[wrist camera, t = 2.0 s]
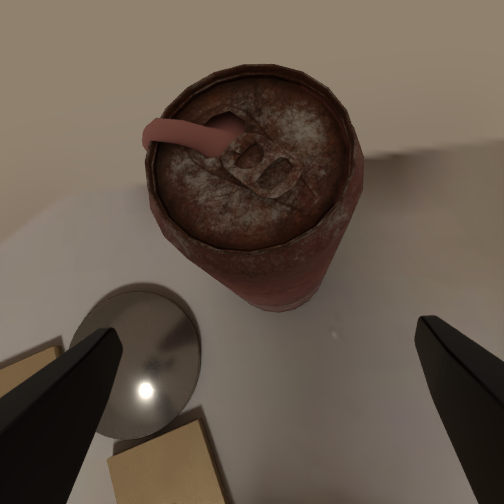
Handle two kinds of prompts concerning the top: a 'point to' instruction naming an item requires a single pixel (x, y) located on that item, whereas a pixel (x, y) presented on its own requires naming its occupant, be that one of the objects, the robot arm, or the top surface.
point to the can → (256, 180)
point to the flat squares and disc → (147, 401)
